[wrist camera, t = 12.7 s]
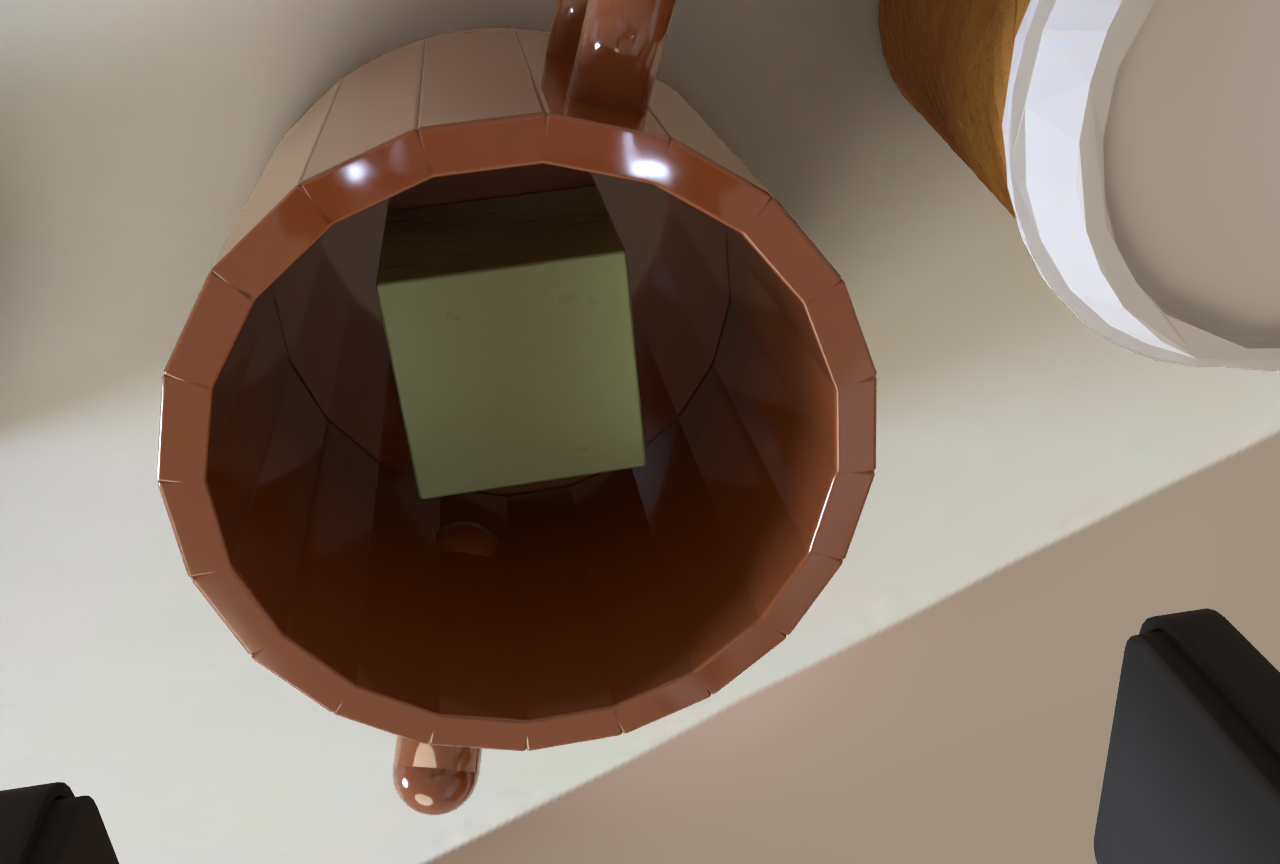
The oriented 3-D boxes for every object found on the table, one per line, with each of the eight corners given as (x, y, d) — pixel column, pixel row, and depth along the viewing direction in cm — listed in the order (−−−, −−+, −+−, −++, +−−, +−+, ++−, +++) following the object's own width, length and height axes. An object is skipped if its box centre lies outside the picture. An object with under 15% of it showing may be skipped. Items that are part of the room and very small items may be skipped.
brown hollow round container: (308, 541, 31) (259, 799, 23) (181, 62, 25) (54, 171, 17) (763, 471, 32) (875, 692, 24) (743, -3, 27) (881, 71, 18)
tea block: (422, 402, 29) (419, 502, 25) (385, 210, 27) (374, 284, 23) (617, 374, 30) (647, 467, 25) (597, 183, 27) (626, 250, 23)
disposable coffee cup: (1143, 197, 30) (1517, 389, 20) (791, 198, 29) (993, 406, 18) (1242, -219, 26) (1788, -257, 15) (835, -243, 25) (1131, -302, 14)
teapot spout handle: (467, 683, 32) (471, 859, 26) (393, 675, 31) (382, 853, 26) (665, -125, 23) (734, -113, 18) (569, -153, 23) (609, -150, 17)
